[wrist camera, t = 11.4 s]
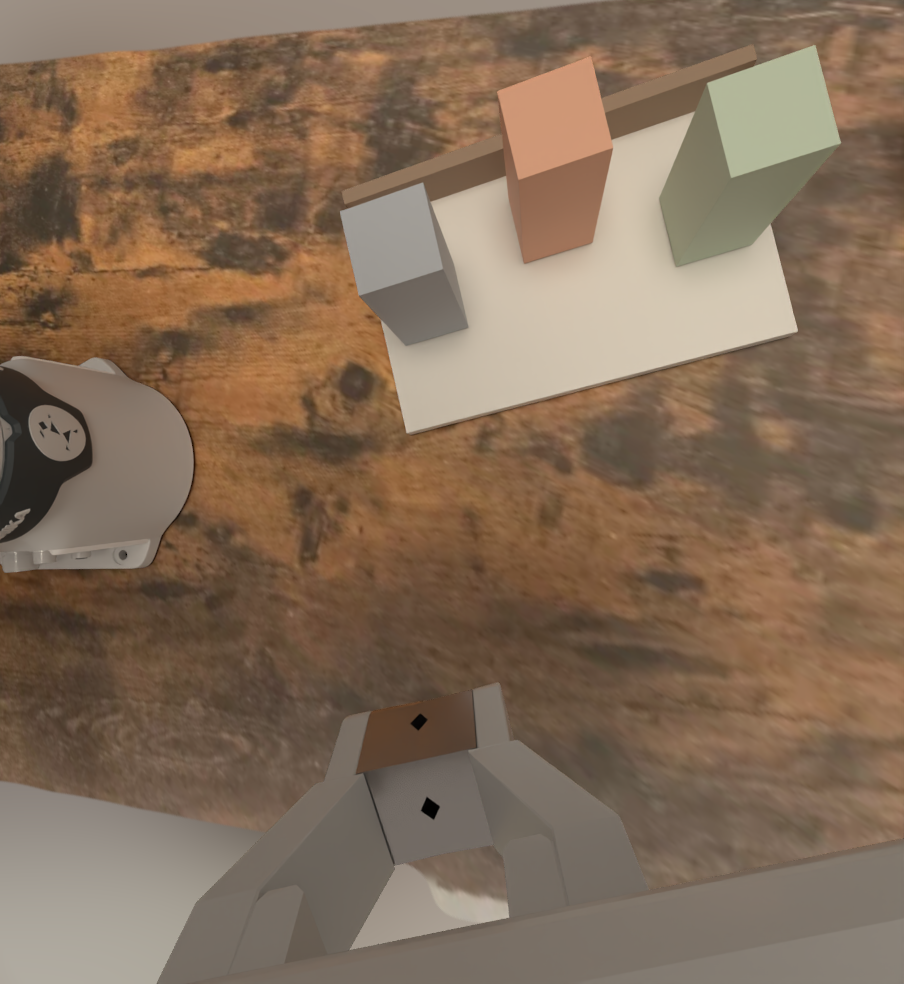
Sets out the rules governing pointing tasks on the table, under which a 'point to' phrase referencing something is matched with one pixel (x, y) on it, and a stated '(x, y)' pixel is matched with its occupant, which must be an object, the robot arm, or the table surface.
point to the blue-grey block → (404, 265)
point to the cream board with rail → (580, 273)
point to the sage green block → (747, 155)
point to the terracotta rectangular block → (555, 158)
